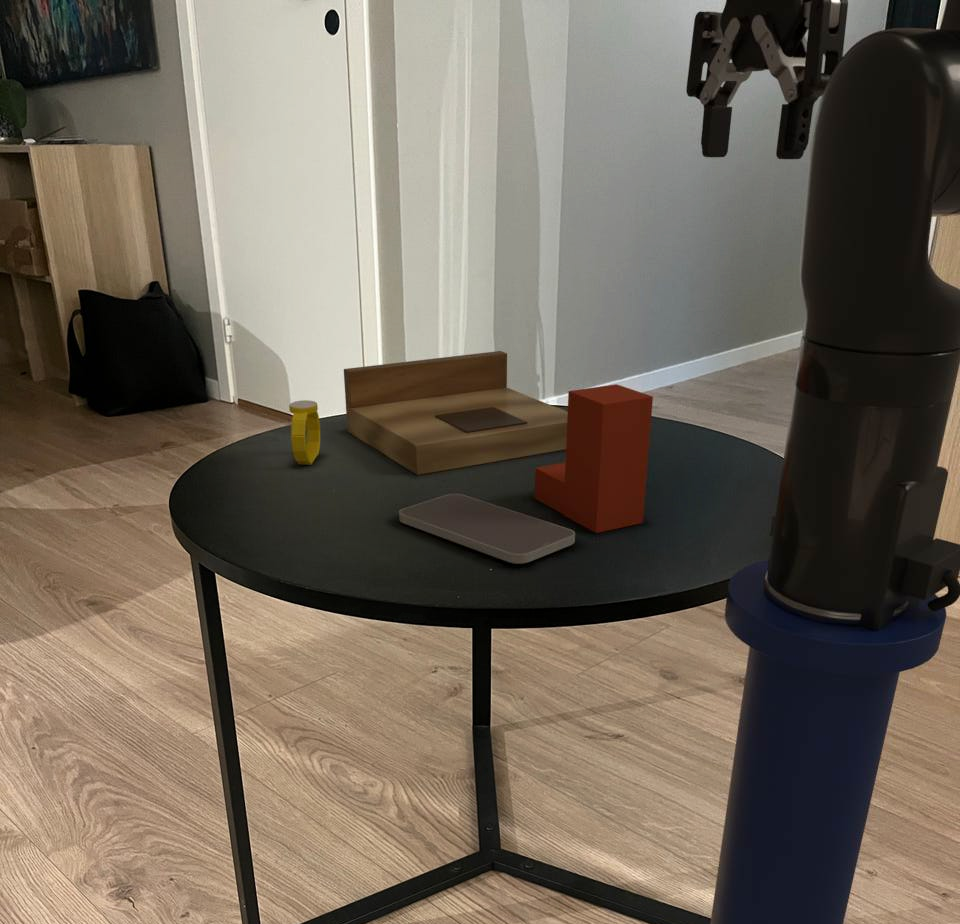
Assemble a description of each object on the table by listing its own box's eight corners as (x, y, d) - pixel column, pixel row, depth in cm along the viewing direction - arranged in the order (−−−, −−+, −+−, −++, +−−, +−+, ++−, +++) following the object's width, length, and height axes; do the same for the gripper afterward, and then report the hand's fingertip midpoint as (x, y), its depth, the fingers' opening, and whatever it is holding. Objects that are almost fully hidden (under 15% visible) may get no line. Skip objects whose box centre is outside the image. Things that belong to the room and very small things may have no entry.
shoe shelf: (584, 446, 106) (587, 380, 103) (417, 475, 97) (414, 404, 94) (500, 409, 120) (500, 350, 117) (347, 431, 111) (343, 368, 108)
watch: (303, 451, 104) (298, 395, 102) (328, 452, 104) (324, 396, 101) (287, 469, 99) (281, 410, 96) (313, 470, 99) (309, 411, 96)
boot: (643, 523, 85) (653, 396, 80) (595, 533, 83) (603, 403, 78) (578, 490, 93) (583, 372, 88) (533, 499, 91) (536, 379, 86)
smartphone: (455, 492, 90) (581, 532, 80) (455, 501, 90) (580, 543, 81) (393, 511, 85) (518, 557, 76) (393, 521, 86) (518, 568, 76)
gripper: (893, -104, 67) (852, 159, 75) (748, -71, 78) (725, 155, 86) (814, -115, 64) (779, 161, 72) (674, -80, 75) (656, 157, 83)
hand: (750, 158), depth 79 cm, fingers open, 8 cm apart
